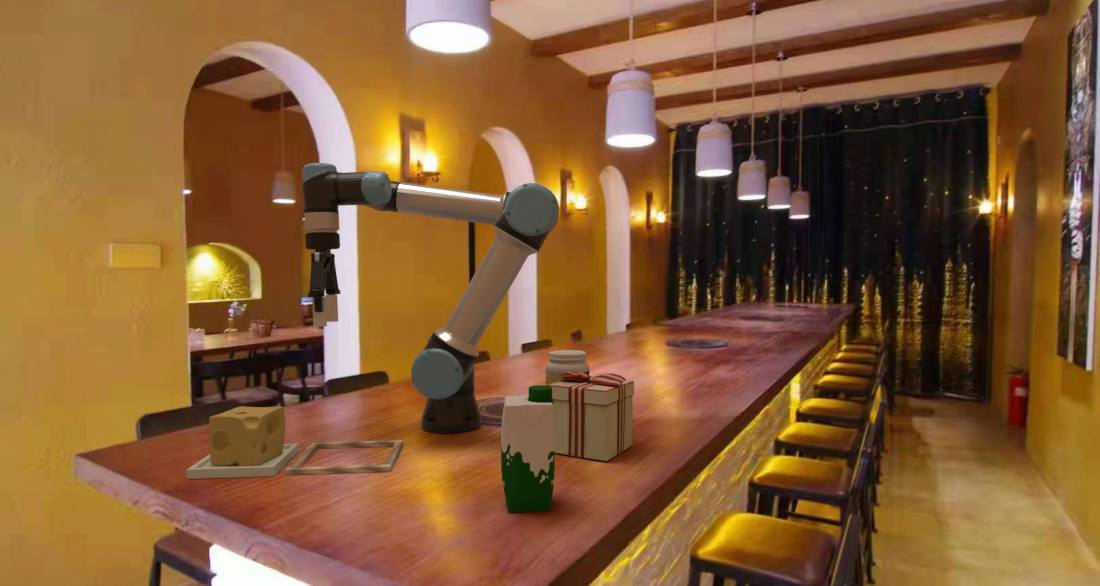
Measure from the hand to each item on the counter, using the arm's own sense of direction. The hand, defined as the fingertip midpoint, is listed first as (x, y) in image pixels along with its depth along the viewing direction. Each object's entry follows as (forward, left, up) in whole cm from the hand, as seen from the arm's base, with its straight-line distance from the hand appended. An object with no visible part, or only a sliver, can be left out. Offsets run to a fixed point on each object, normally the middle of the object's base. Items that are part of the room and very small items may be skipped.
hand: (326, 324), depth 145 cm
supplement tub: (-59, -21, -27) cm, 68 cm away
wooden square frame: (-8, +15, -27) cm, 32 cm away
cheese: (+12, +16, -26) cm, 33 cm away
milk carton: (-44, +44, -27) cm, 68 cm away
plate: (+12, +17, -27) cm, 34 cm away
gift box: (-60, +12, -27) cm, 67 cm away
